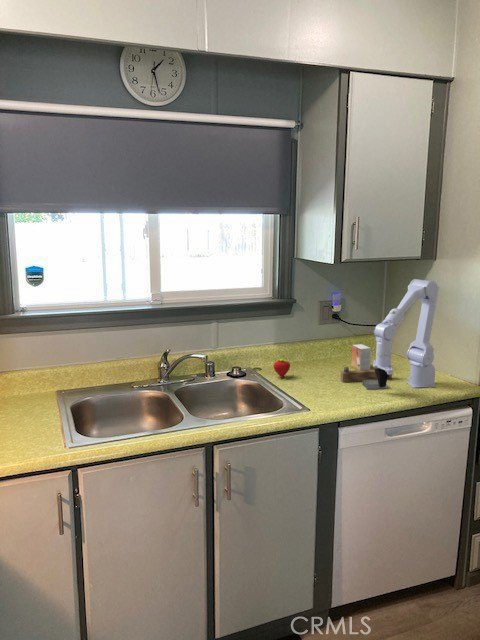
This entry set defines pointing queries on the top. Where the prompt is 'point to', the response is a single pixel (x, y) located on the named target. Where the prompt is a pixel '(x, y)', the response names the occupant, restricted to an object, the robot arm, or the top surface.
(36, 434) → the top surface
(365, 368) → the small box
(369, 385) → the steel plate
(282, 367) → the strawberry
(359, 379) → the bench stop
